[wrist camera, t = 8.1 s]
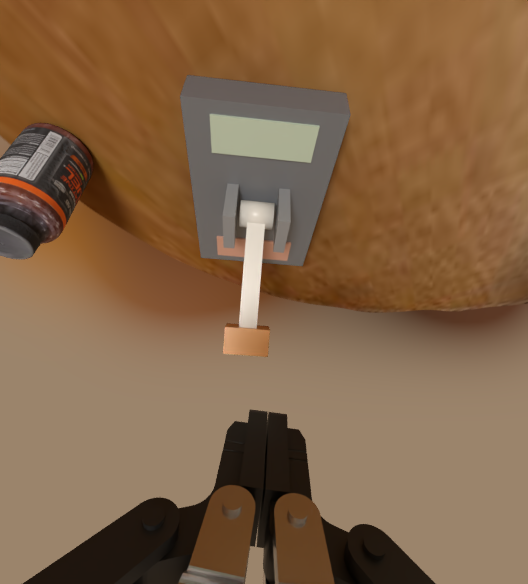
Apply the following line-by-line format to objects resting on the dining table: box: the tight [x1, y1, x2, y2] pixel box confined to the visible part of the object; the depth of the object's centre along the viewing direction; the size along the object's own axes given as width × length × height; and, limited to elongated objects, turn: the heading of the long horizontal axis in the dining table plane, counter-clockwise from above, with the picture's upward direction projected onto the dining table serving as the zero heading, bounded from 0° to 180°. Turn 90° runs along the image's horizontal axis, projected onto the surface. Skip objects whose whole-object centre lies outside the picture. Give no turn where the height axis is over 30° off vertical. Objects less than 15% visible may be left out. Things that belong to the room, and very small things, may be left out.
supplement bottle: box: [0, 123, 93, 259], centre depth 26 cm, size 6×6×11 cm
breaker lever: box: [223, 200, 275, 357], centre depth 29 cm, size 4×2×14 cm
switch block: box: [180, 75, 350, 266], centre depth 30 cm, size 12×18×7 cm, turn 175°
